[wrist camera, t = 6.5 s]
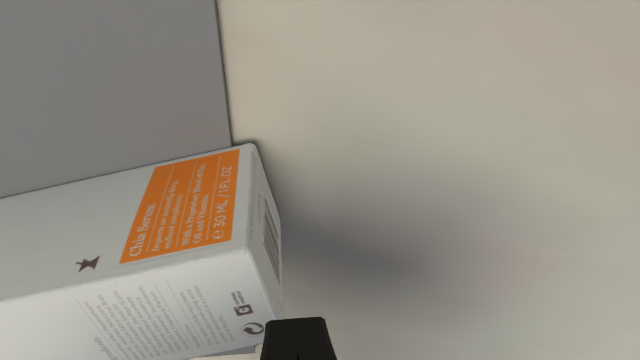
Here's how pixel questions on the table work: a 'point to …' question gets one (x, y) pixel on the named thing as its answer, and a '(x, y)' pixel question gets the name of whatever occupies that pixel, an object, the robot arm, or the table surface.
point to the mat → (107, 89)
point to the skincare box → (142, 262)
